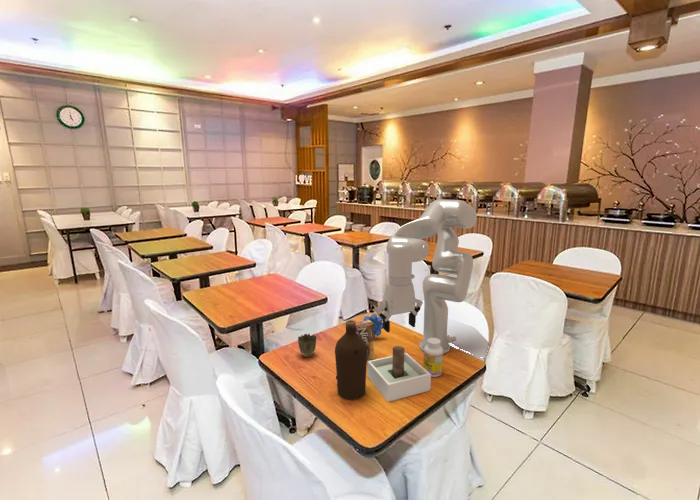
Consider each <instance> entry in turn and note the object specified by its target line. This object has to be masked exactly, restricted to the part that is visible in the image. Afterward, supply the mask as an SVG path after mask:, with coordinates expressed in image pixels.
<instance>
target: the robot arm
mask: <svg viewBox="0 0 700 500" xmlns="http://www.w3.org/2000/svg"><path fill="white" fill-rule="evenodd" d="M477 218H478V216H477V211H476V210H475V208H474V207H473V206H471V204H469V203H467V202H466V201H464V200H460V199H441V198H440V199H436V200H434V201H431V202H430V204H429V205H428V206H427V208H426V209H425V210H424V212H423V213H422V214H421V215H420V217H418V218H417V219H413V220H412V221H410V222H407V223H405V224H403V225H401V226H400V227H398V228H397V229H396V230H395V231H394V232H393V233H392V235H391V236H390V237H389V239H388V241H387V244H386V253H387V254H388V256H387V257H388V261H387V262H388V263H387V266H388V268H387V269H388V270H387V271H388V279H387V281H388V283H385V288H384V292H383V302H382V303H381V304H380V305H378V306H377V307H376V308H374V309H375V312H376V313H377V314H376V315H377V316H378V317H381V318H382V319H383V321H382V323H383V329H382V330H384V331H385V332H386V333H390V331H391V330H390V329H391V327H390V326H391V322H390V318H391V317H392V316H396V315H401V314H406V313H408V325H409V326H410V327H412V328H415V327H416V322H417V321H416V319H417V316H418V313H419V312H420V310H421V307H422V306H424V309H423V332H422V333H423V337H422V338H423V339H422V340H421V341H419V343H418V344H419V345H418V346H419V349H420V350H421V351H423V352H424V348H425V346H426V345H428V344H427V339H429V338H437V339H439V340H440V346H441V347H442V349H443V355H444V354H447V353H449V352H450V351H451V345H450V343H451V342H456V341H457V336H455V335H454V336H453V335H452V336H450V335H448V323H449V322H448V318H449V307H448V304H447V302H446V301H448V302H454V303H462V302H464V301H465V300H466V298H467V295H468V291H469V287H470V283H471V277H472V274H473V269H474V259H473V256H472V254H470V253H469V252H466V251H459V250H458V247H459V243H460V240H459V236H458V235H457V233H456V232H455V230H454V229H453V228H455V229H472V228H473V227H474V226H475V225H476V223H477ZM435 235H437V241H436V245H435V250H434V254H433V258H432V263H431V266H432V269H433V270H434V271H436V272H438V273H442V274H435V273H430V274H428V275H426V276H425V277H424V279H423V280H422V293H423V301H424V302H423V301H422V300H421V299H418V298H416V294H415V293H416V292H415V288H414V287H415V286H414V283H413V282H412V281H413V279H415V274H412V273H413V270H412V269H413V265H412V264H413V263H417V262H422V261H424V260H425V259H426V258H427V257H428V255H429V253H430V246H429V244H428V242H427V241H426V240H424V239H428V238H431V237H434V236H435ZM443 273H444V274H449V275H456V277H455V276H449V275H444V274H443ZM423 303H424V304H423ZM383 311H384V312H383Z"/></svg>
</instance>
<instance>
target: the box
mask: <svg viewBox="0 0 700 500" xmlns="http://www.w3.org/2000/svg"><path fill="white" fill-rule="evenodd" d="M392 361H393V355H390V356H385V357H382V358H381V357H379V358H376V359H375V358H374V359H371V360H368V361H367V365H366V377H367V378H368V379H369V380H370V381H371V382H372V384H373V385H374V386H375V387H376V389H377V390H378V391H379V392H380V394H381V395H382V397H384V399H385V400H386V401H387V403H389V402H393V401H396V400H400V399H404V398H408V397H411V396H414V395H418V394H422V393H427V392H429V391H430V392H431V384H432V377H431V374H430V373H429V372H428V371H427V370H425V369H424V368H423V365H421V364H420V363H419V362H418V361H416V359H415V358H413V357H412V356H411V355H409V353H407V352H404V377H400V378H396V379H395V378H394V377H393V376H392Z"/></svg>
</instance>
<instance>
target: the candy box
mask: <svg viewBox="0 0 700 500" xmlns="http://www.w3.org/2000/svg"><path fill="white" fill-rule="evenodd" d="M355 322H356V321H355ZM356 333H357V334H358V335H359V336H360V337H361V338H362V339H363V340H364V341H365V343H366V346H367V361H371V360H375V350H374V349H375V343H374V342H375V341H374V340H375V338H374V334H373V322H371V321H370V320H365V321H363V320H362V321H357V322H356Z"/></svg>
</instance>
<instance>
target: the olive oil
mask: <svg viewBox="0 0 700 500" xmlns="http://www.w3.org/2000/svg"><path fill="white" fill-rule="evenodd" d="M334 358H335V359H334V360H335V370H336V376H335V379H336V383H337V384H336V385H337V387H336V389H337V394H338V396H339V397H340V398H342V399H345V400H348V401H349V400H358V399H360V398H362V397H363V396H364V395H365V394H366V389H367V388H366V387H367V386H366V382H367V346H366V343H365V341H364V340H363V339H362V338H361V337H360V336H359V335H358V334H357V333H356V321H355V320H352V319H350V320H346V321H345V333H344V334H342V336H341V337H340V338H339V339H338V340H337V341H336V344H335V347H334Z"/></svg>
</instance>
